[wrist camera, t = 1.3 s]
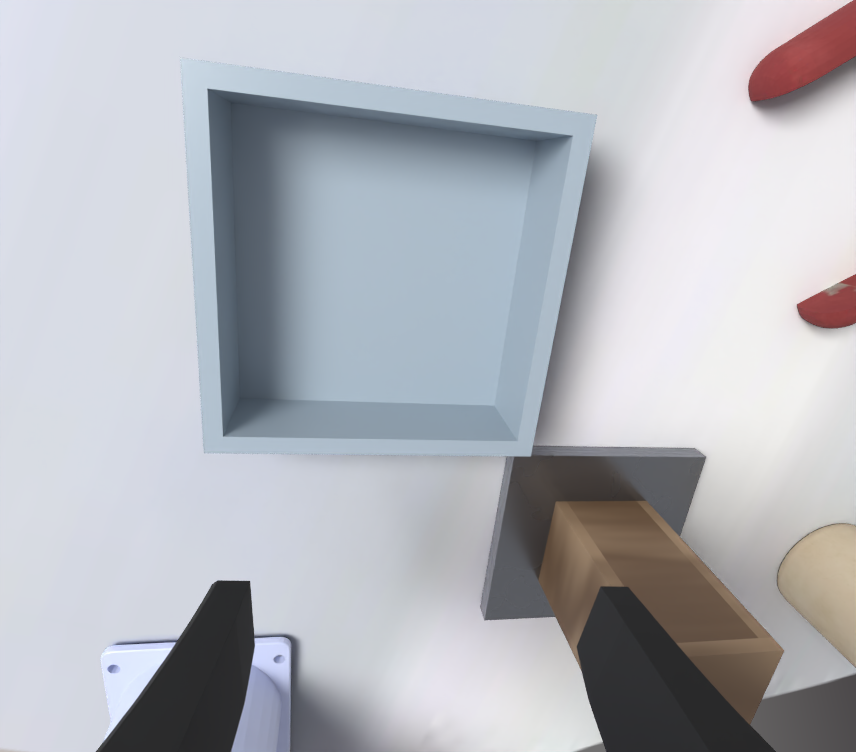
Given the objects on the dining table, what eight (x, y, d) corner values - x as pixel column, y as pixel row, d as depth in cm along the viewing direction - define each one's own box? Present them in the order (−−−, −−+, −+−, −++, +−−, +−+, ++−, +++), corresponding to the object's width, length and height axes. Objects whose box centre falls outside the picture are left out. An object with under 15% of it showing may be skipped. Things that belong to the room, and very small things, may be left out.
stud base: (646, 599, 27) (684, 654, 24) (480, 607, 26) (499, 666, 23) (694, 448, 24) (746, 488, 21) (508, 445, 22) (534, 489, 19)
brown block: (623, 577, 25) (740, 745, 18) (538, 580, 24) (623, 757, 17) (646, 500, 24) (784, 650, 16) (555, 501, 23) (657, 658, 16)
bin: (502, 414, 22) (531, 456, 19) (226, 406, 20) (204, 453, 17) (551, 124, 18) (597, 114, 15) (212, 80, 16) (180, 57, 13)
